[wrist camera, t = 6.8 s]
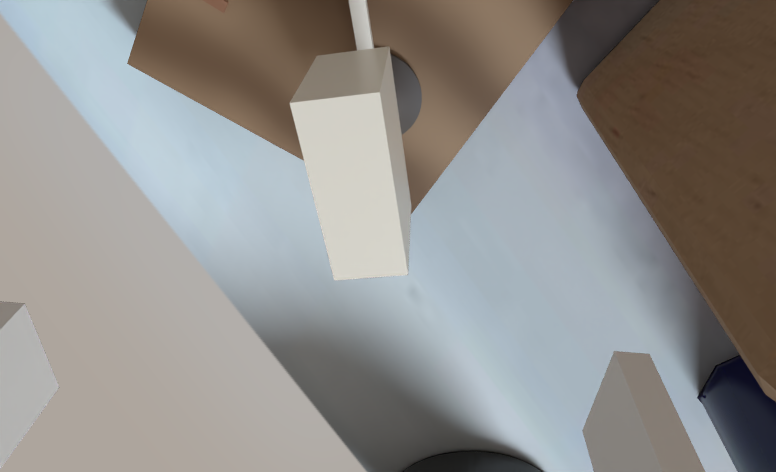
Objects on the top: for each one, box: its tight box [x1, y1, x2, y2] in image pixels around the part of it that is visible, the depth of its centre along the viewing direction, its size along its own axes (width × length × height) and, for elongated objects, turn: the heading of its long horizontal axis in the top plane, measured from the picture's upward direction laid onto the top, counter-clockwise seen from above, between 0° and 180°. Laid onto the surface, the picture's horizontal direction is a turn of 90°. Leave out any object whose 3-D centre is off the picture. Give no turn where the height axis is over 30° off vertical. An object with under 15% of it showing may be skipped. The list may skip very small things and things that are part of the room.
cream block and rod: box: [290, 0, 411, 280], centre depth 20 cm, size 3×14×9 cm, turn 8°
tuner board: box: [127, 0, 573, 214], centre depth 25 cm, size 16×16×3 cm
